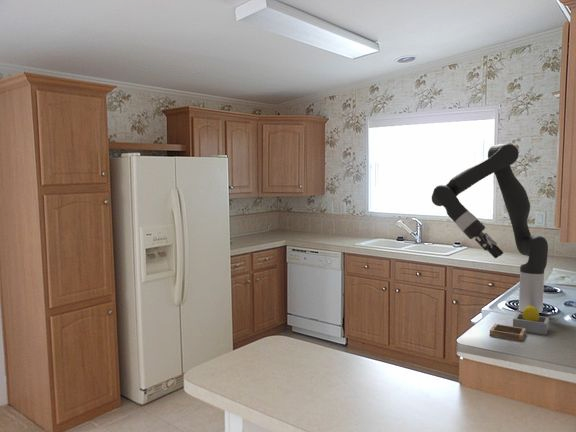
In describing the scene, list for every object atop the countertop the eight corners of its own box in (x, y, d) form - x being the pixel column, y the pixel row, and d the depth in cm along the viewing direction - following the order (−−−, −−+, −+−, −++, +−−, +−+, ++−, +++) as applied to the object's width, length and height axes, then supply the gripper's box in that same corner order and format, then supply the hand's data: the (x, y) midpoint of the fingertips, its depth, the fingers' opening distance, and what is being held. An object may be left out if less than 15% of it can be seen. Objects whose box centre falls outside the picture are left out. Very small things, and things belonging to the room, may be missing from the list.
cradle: (494, 328, 171) (494, 323, 171) (525, 333, 166) (525, 328, 166) (489, 335, 163) (489, 330, 163) (522, 341, 157) (522, 335, 157)
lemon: (524, 323, 176) (525, 302, 176) (540, 326, 173) (541, 305, 172) (520, 326, 172) (521, 305, 172) (536, 329, 168) (537, 307, 168)
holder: (516, 322, 180) (517, 312, 180) (548, 327, 174) (549, 317, 174) (512, 329, 171) (513, 318, 171) (546, 334, 165) (546, 323, 165)
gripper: (473, 219, 176) (504, 251, 170) (480, 218, 188) (510, 248, 182) (458, 232, 179) (488, 264, 173) (466, 230, 191) (495, 260, 185)
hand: (499, 255), depth 178 cm, fingers open, 8 cm apart
